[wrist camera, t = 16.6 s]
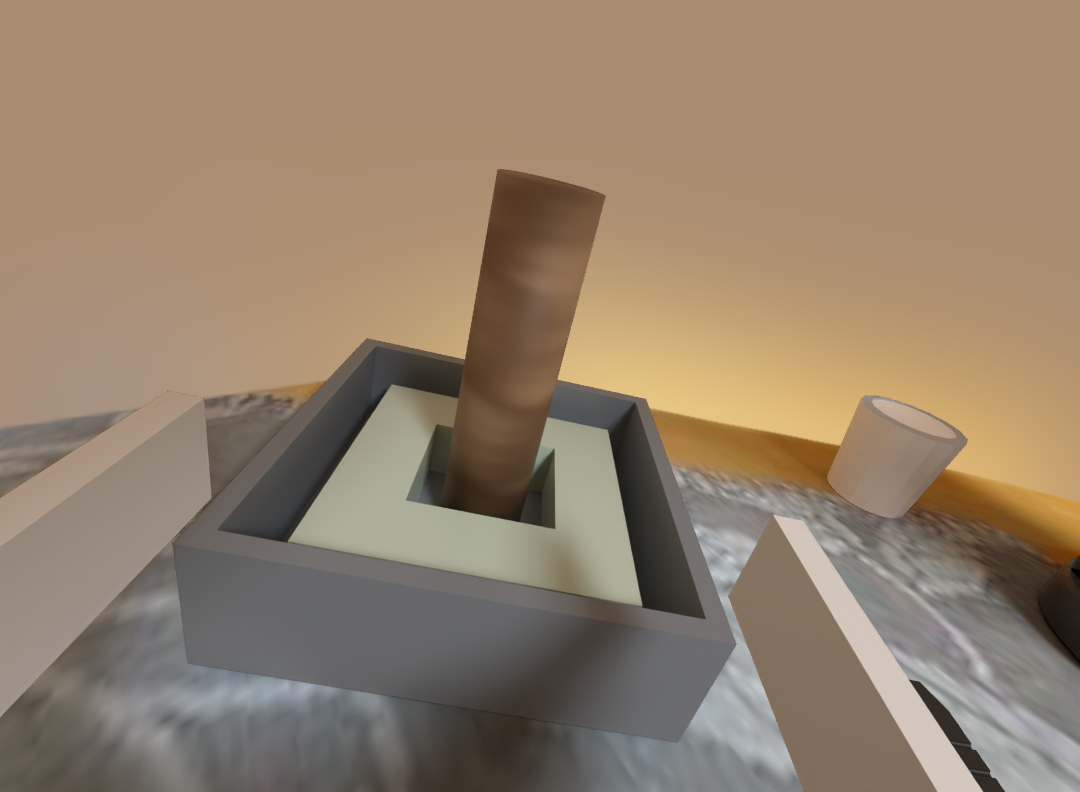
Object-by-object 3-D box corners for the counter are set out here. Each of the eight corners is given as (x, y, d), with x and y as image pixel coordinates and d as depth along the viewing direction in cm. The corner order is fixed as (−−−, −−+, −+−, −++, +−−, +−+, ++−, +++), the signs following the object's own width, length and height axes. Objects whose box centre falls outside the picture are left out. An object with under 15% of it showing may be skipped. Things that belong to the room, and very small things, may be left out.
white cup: (802, 475, 40) (846, 398, 37) (842, 461, 44) (884, 390, 41) (892, 534, 35) (950, 450, 32) (927, 511, 39) (982, 435, 36)
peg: (520, 502, 27) (600, 191, 20) (515, 556, 24) (611, 201, 17) (446, 488, 27) (502, 167, 20) (430, 540, 24) (491, 172, 16)
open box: (620, 469, 35) (646, 399, 32) (678, 742, 19) (736, 644, 16) (360, 416, 33) (366, 338, 31) (187, 663, 17) (172, 543, 15)
